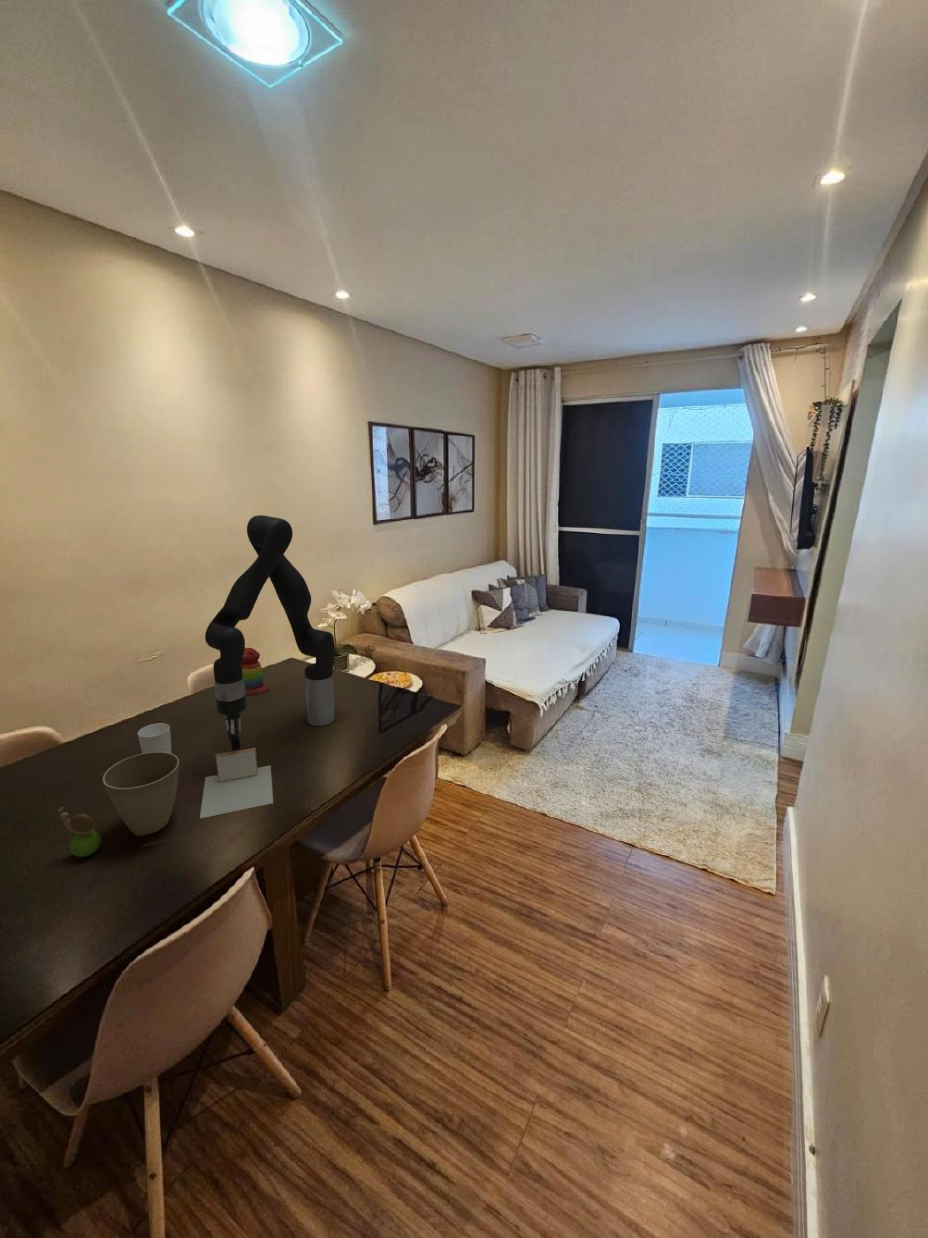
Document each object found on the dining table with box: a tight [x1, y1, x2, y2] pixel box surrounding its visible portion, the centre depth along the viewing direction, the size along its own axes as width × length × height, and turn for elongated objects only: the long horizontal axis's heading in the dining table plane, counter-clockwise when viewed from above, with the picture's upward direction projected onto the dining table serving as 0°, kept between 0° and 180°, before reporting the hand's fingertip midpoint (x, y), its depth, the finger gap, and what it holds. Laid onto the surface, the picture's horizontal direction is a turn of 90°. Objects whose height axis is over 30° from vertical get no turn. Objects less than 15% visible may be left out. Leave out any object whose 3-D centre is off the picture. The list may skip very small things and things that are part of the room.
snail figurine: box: [58, 806, 102, 858], centre depth 106 cm, size 5×6×12 cm
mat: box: [199, 765, 274, 819], centre depth 130 cm, size 18×17×1 cm
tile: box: [215, 747, 258, 782], centre depth 134 cm, size 2×10×8 cm, turn 113°
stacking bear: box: [242, 647, 270, 696], centre depth 187 cm, size 11×10×18 cm
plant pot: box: [102, 752, 180, 837], centre depth 114 cm, size 15×15×16 cm
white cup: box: [137, 722, 172, 754], centre depth 141 cm, size 8×8×10 cm
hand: (236, 748), depth 138 cm, fingers closed
